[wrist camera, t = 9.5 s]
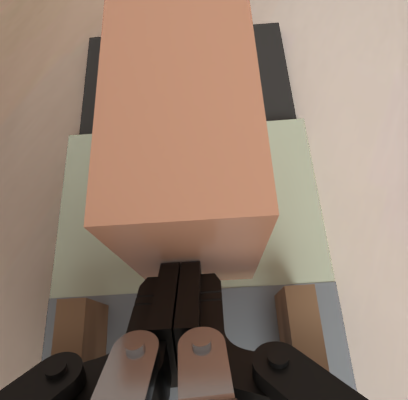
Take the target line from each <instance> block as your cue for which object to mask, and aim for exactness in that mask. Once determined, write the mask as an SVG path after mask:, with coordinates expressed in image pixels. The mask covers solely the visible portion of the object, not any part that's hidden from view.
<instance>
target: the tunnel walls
mask: <svg viewBox="0 0 408 400" xmlns="http://www.w3.org/2000/svg"><path fill="white" fill-rule="evenodd" d="M274 297H275V305H276V313H277V321H278V329H279V337H280V342H284V343H287V344H289V345H291V346H293V347H295V348H296V349H298V350H299V351H300V352H302V353H303V354H305V355H306V356H307V357H309V358H310V359H312V360H313V361H315V362H316V363H317V364H319V365H320V366H322V367H323V368H324V369H326V370H327V371H329V365H328V360H327V354H326V348H325V342H324V336H323V330H322V324H321V318H320V313H319V307H318V301H317V295H316V289H315V284H308V285H291V286H284V287H283V288H282V289H281V290H280V291H279V292H278V293H277V294H276V295H275V296H274ZM108 308H109V305H106V304H103V303H100V302H97V301H95V300H92V299H89V298H69V299H57V303H56V312H55V321H54V330H53V339H52V349H51V356H52V355H54V354H57V353H61V352H73V353H76V354H78V355H79V356H80V357H81V359H82V361H83V362H86V361H90V360H93V359H96V358H99V357H102V356H105V355H106V345H107V326H108ZM329 372H330V371H329Z"/></svg>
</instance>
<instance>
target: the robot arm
mask: <svg viewBox="0 0 408 400" xmlns="http://www.w3.org/2000/svg"><path fill="white" fill-rule="evenodd" d="M174 387H178V400H368V399H367V398H365V397H364V396H362V395H361V394H360V393H358V392H357V391H355V390H354V389H353V388H351V387H350V386H348V385H347V384H346V383H344V382H343V381H341V380H340V379H338V378H337V377H336V376H334V375H333V374H331V373H330V372H329V371H327V370H326V369H324V368H323V367H322V366H320V365H319V364H317V363H316V362H315V361H313V360H312V359H310V358H309V357H307V356H306V355H305V354H303V353H302V352H300V351H299V350H298V349H296V348H295V347H293V346H291V345H289V344H287V343H284V342H279V341H272V342H266V343H264V344H262V345H260V346H259V347H257V348H256V350H255V351H251V350H246V349H243V348H240V347H238V346H236V345H234V344H233V343H232V342H230V341H229V339H228V338H227V337H226V334H225V330H224V317H223V303H222V289H221V281H220V279H219V278H218V277H217V275H216V274H215V273H210V274H202V271H201V262H200V261H189V262H181V263H180V262H173V263H161V264H160V269H159V273H158V277H147V278H146V279H145V281H144V282H143V283H142V284H141V285H140V286H139V289H138V293H137V298H136V300H135V303H134V307H133V310H132V314H131V317H130V321H129V324H128V328H127V331H126V334H124V335H123V336H121V337H120V338H119V339H118V340H117V341H116V342H115V343H114V345H113V347H112V349H111V351H110V353H109V354H107V355H105V356H102V357H99V358H96V359H93V360H90V361H86V362H83V361H82V359H81V357H80V356H79V355H78V354H76V353H73V352H61V353H57V354H54V355H52V356H50V357H48V358H46V359H44V360H43V361H42V362H40V363H39V364H37V365H36V366H34V367H33V368H32V369H30V370H29V371H27V372H26V373H24V374H23V375H22V376H20V377H19V378H17V379H16V380H15V381H13V382H12V383H10V384H9V385H7V386H6V387H5V388H3V389H2V390H0V400H169V398H170V388H174Z"/></svg>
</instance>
